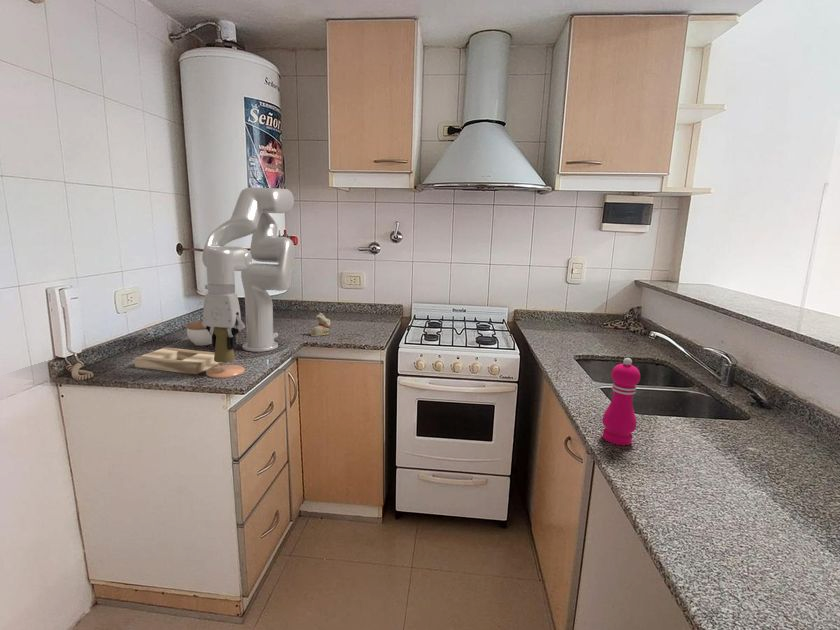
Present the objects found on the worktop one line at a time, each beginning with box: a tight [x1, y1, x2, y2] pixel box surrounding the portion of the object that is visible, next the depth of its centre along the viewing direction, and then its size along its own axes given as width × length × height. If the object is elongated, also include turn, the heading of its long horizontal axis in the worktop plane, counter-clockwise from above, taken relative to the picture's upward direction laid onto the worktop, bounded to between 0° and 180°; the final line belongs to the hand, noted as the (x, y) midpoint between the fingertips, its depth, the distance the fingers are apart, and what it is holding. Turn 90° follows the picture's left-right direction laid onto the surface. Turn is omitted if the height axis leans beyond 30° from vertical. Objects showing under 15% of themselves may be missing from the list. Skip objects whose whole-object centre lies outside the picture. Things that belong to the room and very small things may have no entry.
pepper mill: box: [601, 357, 641, 447], centre depth 101 cm, size 7×7×20 cm
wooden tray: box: [133, 347, 223, 375], centre depth 142 cm, size 13×22×3 cm, turn 78°
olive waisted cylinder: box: [214, 327, 236, 363], centre depth 135 cm, size 6×6×11 cm
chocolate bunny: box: [309, 312, 332, 336], centre depth 185 cm, size 6×8×10 cm
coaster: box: [205, 364, 246, 379], centre depth 137 cm, size 11×11×1 cm
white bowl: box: [185, 318, 212, 346], centre depth 166 cm, size 11×11×9 cm
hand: (224, 347), depth 135 cm, fingers closed on olive waisted cylinder, 4 cm apart
